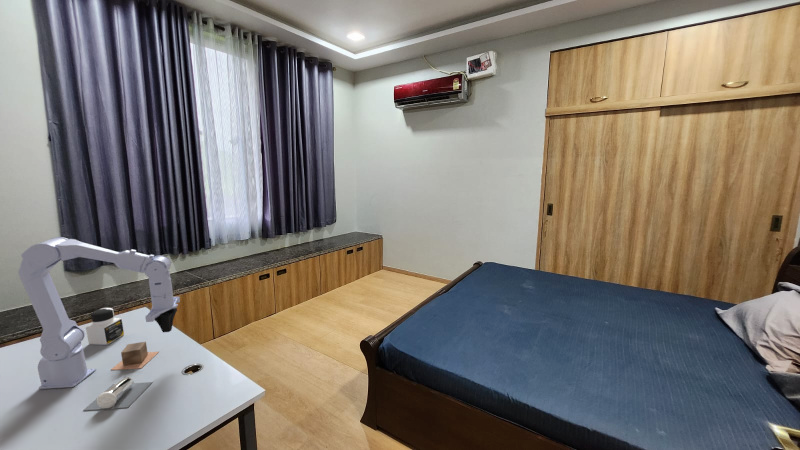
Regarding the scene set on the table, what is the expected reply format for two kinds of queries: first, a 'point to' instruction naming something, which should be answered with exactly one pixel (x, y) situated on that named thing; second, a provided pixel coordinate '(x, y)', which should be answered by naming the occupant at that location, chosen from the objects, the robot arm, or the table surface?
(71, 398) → the table surface
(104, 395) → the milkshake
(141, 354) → the walnut block
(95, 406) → the tile slate
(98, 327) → the medicine bottle
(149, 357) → the tile terracotta
